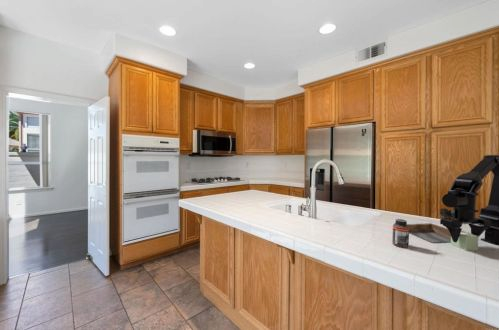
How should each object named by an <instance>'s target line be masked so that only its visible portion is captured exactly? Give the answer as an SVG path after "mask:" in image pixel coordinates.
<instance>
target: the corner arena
mask: <svg viewBox="0 0 499 330" xmlns="http://www.w3.org/2000/svg"><path fill="white" fill-rule="evenodd" d="M406 225H407V226H408V227H409V235H412V236H414V237H417V238H419V239H422V240H424V241H427V242H429V243H431V244H440V243H451V234H450V232H449V230H448V229H447V228H446V227H445V226H440V225H437V224H434V223H432V222H429V223H427V222H426V223H407V224H406Z"/></svg>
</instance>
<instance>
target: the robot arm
mask: <svg viewBox="0 0 499 330" xmlns="http://www.w3.org/2000/svg"><path fill="white" fill-rule="evenodd" d="M489 173H492V175H493V177H492V178H493V179H492V181H491V188H490V193H489V197H488V203H487V205H486V206H485V207H484V208H483V207H481V208H480V210H479V209H477V208H476V205H477V204H476V203H477V201H476V200H477V197H478V196H480V194H479V192H478V191H479V190H480V189H481V187H482V186H483V184H484V183H483V179H484V178H485V177H486V176H487V175H488V174H489ZM441 202H442V204H443V205H444V206H445V207H447V208H440V210H439V215H441V218H439V219H440V220H439V224H440V225H442V227H444V228H447V229H448V230H449V232H450V234H451V237H452V240H453V242H457V241H458V238H459V236H460V233H461V231H462V230H463V228H462V226H463V225H468V226H469V227H470V233H472V234H473V235H477V236H478V238H480V237H481V235H482V234H483V233H484V237H482V238H480V240H481V241H484V242H486V243H490V244H493V245H497V246H499V154H486V155H483V157H482V159H481V160H480V161H479V162H478V163H477V164H476V165H474V167H473V168H472V169H470V170H469V171H468V172H466V173H461V174H460V175H459V176H457V177H456V178H455V179H454V181H453V182H452V184H451V186H450V187H449V189H448V190H447V193H446V194H444V195H443V196H442V198H441ZM448 208H449V209H448ZM450 208H453V209H450ZM479 211H480V213H479ZM476 213H479V215H478V216H476ZM442 216H443V217H442Z"/></svg>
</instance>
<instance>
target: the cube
mask: <svg viewBox="0 0 499 330" xmlns="http://www.w3.org/2000/svg"><path fill="white" fill-rule="evenodd" d="M450 246H452V247H455V248H458V249H460V250H463V251H465V252H466V251H467V252H468V251H478V249H479V237H478V236H477V235H473V234H472V233H471V232H467V231H464V230H463V231H461V233H460V236H459V238H458V241H457V242H453V240H452V237H451V242H450Z"/></svg>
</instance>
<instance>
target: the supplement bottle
mask: <svg viewBox="0 0 499 330" xmlns="http://www.w3.org/2000/svg"><path fill="white" fill-rule="evenodd" d="M406 224H408V222H407V220H406V219H401V218H396V219H395V222H394V224H393V225H392V244H393V246H395V247H398V248H408V247H409V244H410V233H409V227H408V226H407V225H406Z"/></svg>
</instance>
